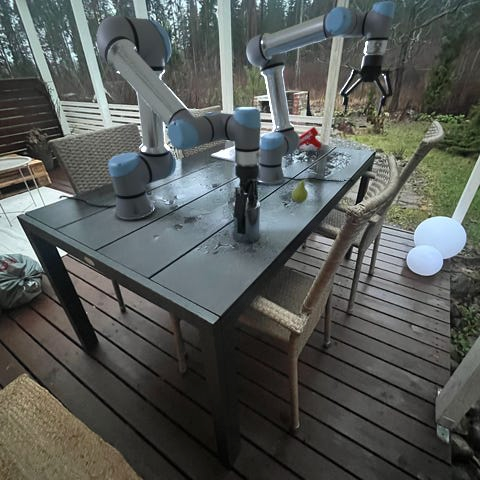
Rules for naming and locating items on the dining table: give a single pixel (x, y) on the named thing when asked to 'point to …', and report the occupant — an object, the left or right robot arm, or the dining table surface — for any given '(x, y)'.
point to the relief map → (226, 154)
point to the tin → (249, 222)
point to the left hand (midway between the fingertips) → (246, 226)
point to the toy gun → (310, 138)
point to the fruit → (300, 192)
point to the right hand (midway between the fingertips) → (361, 114)
